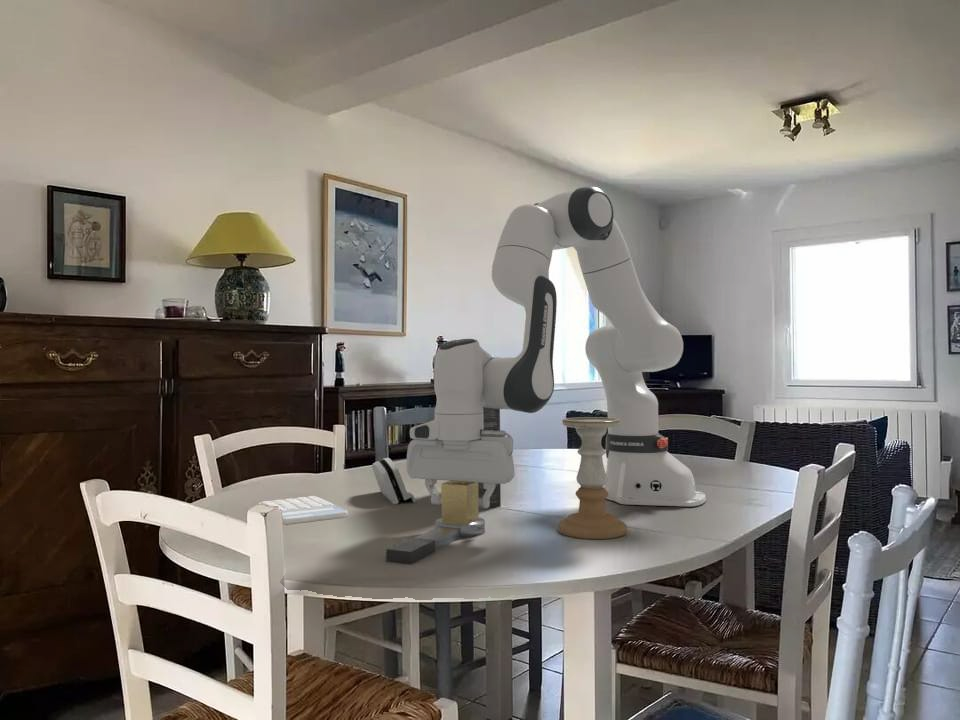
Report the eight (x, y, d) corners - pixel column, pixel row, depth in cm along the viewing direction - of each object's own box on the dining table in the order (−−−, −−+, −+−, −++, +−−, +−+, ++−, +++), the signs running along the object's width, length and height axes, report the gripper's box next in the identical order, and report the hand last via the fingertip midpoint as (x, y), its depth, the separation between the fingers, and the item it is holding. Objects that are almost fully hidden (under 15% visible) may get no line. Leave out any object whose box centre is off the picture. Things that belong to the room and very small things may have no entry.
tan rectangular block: (478, 519, 133) (478, 481, 133) (467, 525, 129) (466, 485, 129) (453, 517, 135) (453, 479, 135) (441, 522, 131) (441, 483, 131)
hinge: (416, 502, 160) (400, 460, 159) (396, 511, 158) (380, 468, 157) (401, 490, 176) (387, 451, 175) (382, 497, 174) (368, 459, 173)
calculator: (317, 503, 163) (317, 494, 163) (350, 519, 146) (350, 509, 146) (256, 509, 156) (256, 501, 156) (283, 527, 139) (283, 517, 139)
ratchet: (448, 525, 138) (448, 498, 138) (492, 529, 135) (492, 501, 135) (373, 560, 114) (373, 528, 114) (424, 566, 110) (424, 533, 110)
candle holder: (627, 525, 136) (626, 416, 136) (627, 541, 124) (625, 422, 124) (561, 522, 139) (560, 416, 139) (554, 538, 127) (553, 421, 127)
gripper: (519, 429, 131) (520, 506, 131) (418, 426, 139) (419, 498, 139) (506, 432, 125) (507, 513, 125) (401, 428, 133) (402, 504, 133)
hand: (459, 505), depth 132 cm, fingers open, 8 cm apart
